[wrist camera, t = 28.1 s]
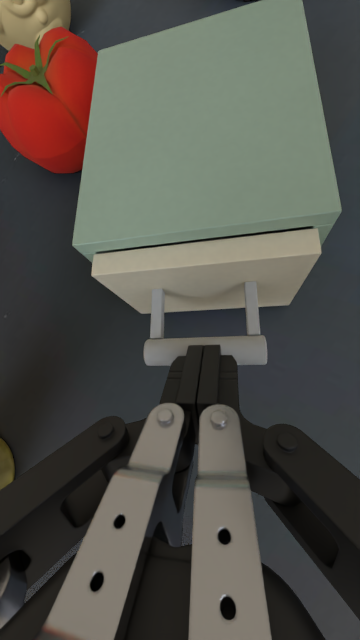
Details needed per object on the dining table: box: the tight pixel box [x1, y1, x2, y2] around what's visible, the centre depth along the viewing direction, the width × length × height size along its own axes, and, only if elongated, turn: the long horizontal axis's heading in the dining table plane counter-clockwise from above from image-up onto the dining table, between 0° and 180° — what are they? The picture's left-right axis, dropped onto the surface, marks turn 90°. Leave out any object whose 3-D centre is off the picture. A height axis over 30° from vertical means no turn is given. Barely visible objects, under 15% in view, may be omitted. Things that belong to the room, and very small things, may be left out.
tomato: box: [0, 27, 98, 173], centre depth 23 cm, size 11×11×8 cm
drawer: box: [91, 228, 321, 366], centre depth 15 cm, size 17×10×7 cm, turn 0°
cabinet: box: [72, 0, 342, 263], centre depth 16 cm, size 14×12×9 cm
